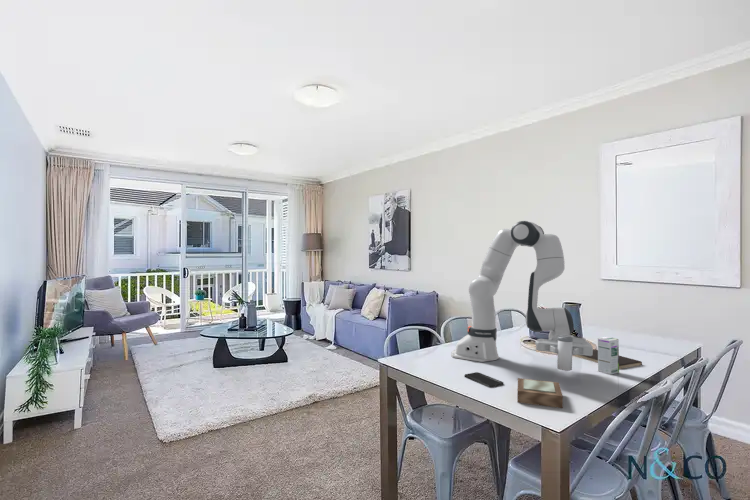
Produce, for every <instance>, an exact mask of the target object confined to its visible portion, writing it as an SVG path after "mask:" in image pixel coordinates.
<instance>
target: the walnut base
mask: <svg viewBox="0 0 750 500" xmlns="http://www.w3.org/2000/svg"><path fill="white" fill-rule="evenodd" d="M563 397H564V396H563V392H562V389H561V386H560V382H559V381H558V382H555V381H547V380H540V379H539V380H538V379H531V378H520V377H518V378H517V397H516V398H517V403H521V404H526V405H527V404H529V405H536V406H542V407H549V406H550V408H557V407H558V408H557V409H563V408H564V407H563V405H564V404H563V403H564V402H563V399H564V398H563Z"/></svg>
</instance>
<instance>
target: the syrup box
mask: <svg viewBox="0 0 750 500" xmlns="http://www.w3.org/2000/svg"><path fill="white" fill-rule="evenodd" d="M619 341H620V340H619V339H618V338H616V337H610V336H603V337H598V338H597V350H598V363H597V365H598V366H597V372H600V373H602V374H606V375H610V376H611V375H613V374H614V375H615V374H619V373H620V369H619V356H620V352H619V350H620V349H619V348H620V346H619V344H620V342H619Z"/></svg>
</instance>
